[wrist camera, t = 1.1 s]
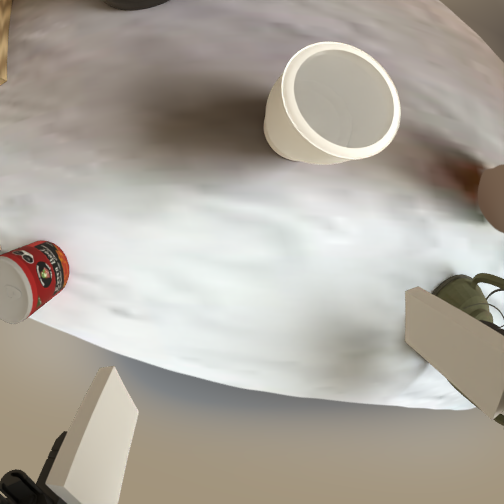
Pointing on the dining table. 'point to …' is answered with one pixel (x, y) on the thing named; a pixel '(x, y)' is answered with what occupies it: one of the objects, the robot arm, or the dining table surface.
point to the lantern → (470, 302)
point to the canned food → (30, 279)
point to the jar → (331, 106)
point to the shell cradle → (4, 37)
